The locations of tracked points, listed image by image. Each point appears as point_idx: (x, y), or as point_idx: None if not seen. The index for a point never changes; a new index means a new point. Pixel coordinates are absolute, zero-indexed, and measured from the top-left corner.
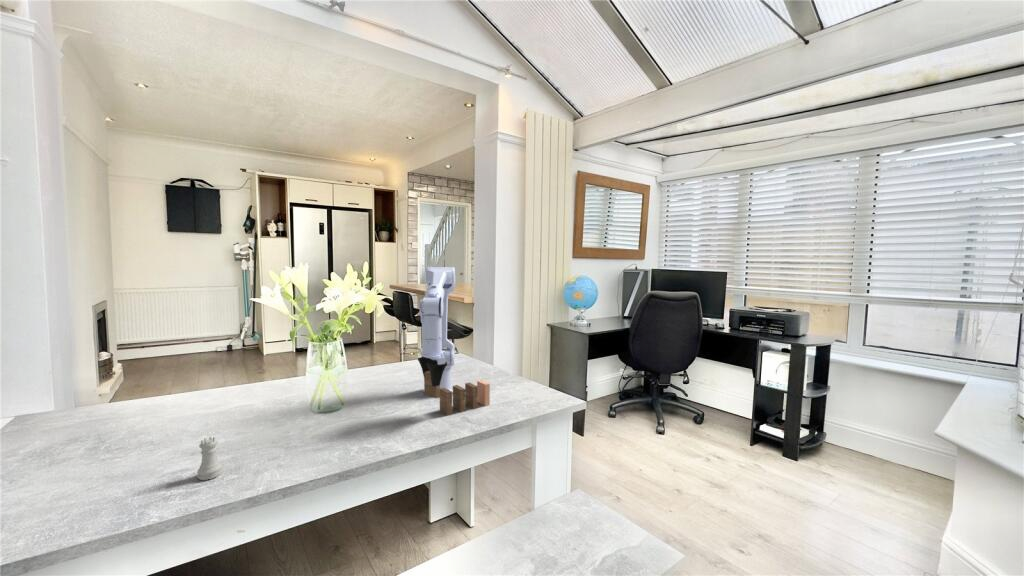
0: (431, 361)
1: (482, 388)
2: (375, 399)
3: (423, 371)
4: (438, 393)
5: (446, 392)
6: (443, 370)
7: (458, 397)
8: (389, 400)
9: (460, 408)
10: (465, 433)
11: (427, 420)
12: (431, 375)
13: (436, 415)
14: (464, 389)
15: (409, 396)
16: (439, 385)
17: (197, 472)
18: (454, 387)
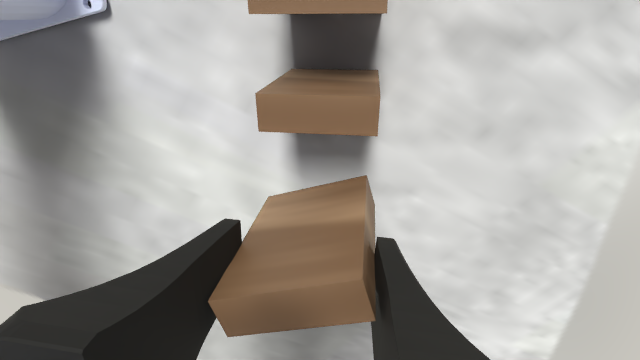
0: (146, 355)
1: None
2: (53, 242)
3: (204, 332)
4: (370, 200)
5: (365, 135)
6: (459, 334)
7: (353, 13)
8: (79, 211)
9: (381, 13)
10: (625, 137)
11: None
12: None
13: (340, 138)
14: None
15: (49, 127)
16: (366, 220)
17: None
18: (280, 13)
